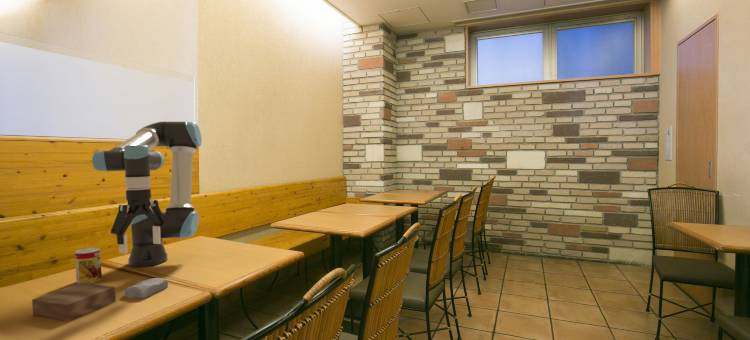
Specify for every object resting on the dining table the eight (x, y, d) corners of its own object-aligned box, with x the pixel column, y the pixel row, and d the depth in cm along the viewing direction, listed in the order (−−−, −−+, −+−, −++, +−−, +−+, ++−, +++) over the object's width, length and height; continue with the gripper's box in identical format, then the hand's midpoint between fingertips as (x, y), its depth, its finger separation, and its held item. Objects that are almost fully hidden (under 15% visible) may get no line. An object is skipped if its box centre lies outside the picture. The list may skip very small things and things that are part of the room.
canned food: (104, 280, 148) (102, 250, 147) (78, 285, 142) (76, 254, 142) (99, 275, 154) (97, 246, 153) (75, 280, 148) (73, 250, 147)
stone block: (121, 302, 131) (146, 299, 129) (119, 289, 132) (143, 285, 129) (148, 291, 143) (171, 287, 141) (146, 278, 143) (168, 274, 141)
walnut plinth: (82, 296, 132) (81, 282, 132) (115, 301, 128) (114, 286, 128) (33, 315, 118) (32, 299, 118) (68, 321, 114) (67, 304, 113)
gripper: (159, 185, 147) (161, 239, 148) (95, 192, 123) (98, 257, 124) (174, 185, 145) (177, 240, 146) (113, 193, 121) (116, 258, 122)
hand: (141, 248), depth 135 cm, fingers open, 13 cm apart
